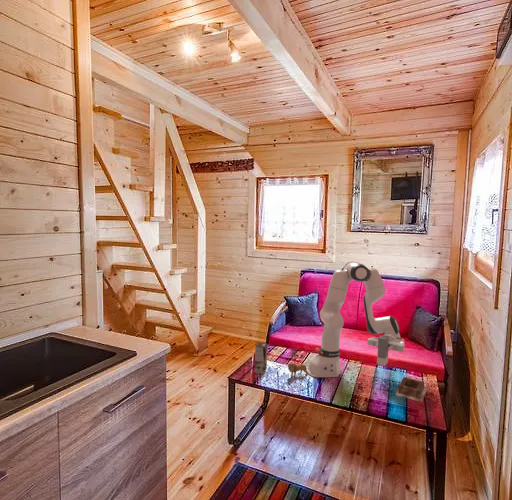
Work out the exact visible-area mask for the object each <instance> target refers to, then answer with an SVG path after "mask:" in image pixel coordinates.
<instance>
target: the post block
mask: <svg viewBox="0 0 512 500" xmlns="http://www.w3.org/2000/svg"><path fill="white" fill-rule="evenodd" d="M424 385H425V382H424V381H422V380H417V379H414V378H410V377H405V376H403V377H402V380H401V381H400V382H399V384H398V388H397V390H396V392H395V394H394V395H395V396H398V397H401V398H406V399H409V400H413V401H416V402H419V403H423V402H424V401H423V400H424V398H425V396H426V393H427V390H428V389H427V388H425V386H424Z"/></svg>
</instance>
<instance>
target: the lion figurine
mask: <svg viewBox="0 0 512 500" xmlns="http://www.w3.org/2000/svg"><path fill="white" fill-rule="evenodd" d="M306 367H307V366H306V364H304V363H300V364H296V363H294V362H289V363H288V364H287V369H288V371H289V372H290V373H291V374H290V377H293V378H297V372H299V373H298V374H299V375H301V374H302V373H303V372H304V373H305V374H304V375H305V376H308V373H307V370H306Z"/></svg>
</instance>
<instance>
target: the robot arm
mask: <svg viewBox="0 0 512 500" xmlns="http://www.w3.org/2000/svg"><path fill="white" fill-rule="evenodd" d="M352 281H355V282H361V283H363V284H364V287H365V290H366V291H365V292H366V293H365V295H364V296H363V306H364V314H365V320H366V329H367V332H368V333H370V334H372V335H374V336H372V337H368V339H367V345H368V346H371V347H375V348H376V349H378V338H379V337H377V336H376V337H375V335H379V334H383V335H384V336H389V343H388V346H387V349H386V350H388V351H394V352H399V353H404V352H405V339H404V338H401V334H400V325H399V322H398V320H397V319H396V318H395V317H394V316H392V315H388V316H382V317H381V316H380V317H374V312H373V304H374V303H376V302H378V301H379V300H381V299H382V298H383V297H384V296H385V294H386V287H385V284H384V281H383V279H382V276H381V274H380V273H379V270H377V269H376V268H373V267H372V268H371V267H370V268H368V267H367V266H366V265H364V264H362V263H360V262H356V261H349V262H347V263H346V264H345V265H344V266H343V267H342V268H341V269H338V270H335V271H334V272H333V274H332V277H331V279H330V281H329V287H328V290H327V293H326V294H327V295H326V298H325V300H324V303H323V305H322V308H321V310H320V311H319V317H320V320H321V322H322V323H323V330H322V331H323V332H322V334H321V341H320V342H321V344H320V345H321V346H320V348H318V347H316V348H315V351H316V352H317V354H316V355H315V356H314V357H312V358H311V359H309V362H308V366H306V370H307V375H309V376H311V377H313V378H338V377H339V375H340V374H341V373H342V369H341V363H340V356H341V349H340V344H341V343H340V341H341V334H342V331H343V330H342V329H343V327H344V324H345V320H344V318H343V316H342V314H341V313H340V310H341V308H342V306H343V304H344V303H345V302H346V297H347V292H348V288H349V284H350V282H352Z"/></svg>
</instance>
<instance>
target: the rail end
mask: <svg viewBox="0 0 512 500" xmlns="http://www.w3.org/2000/svg"><path fill="white" fill-rule="evenodd" d="M377 338H378V348H377V358H376V365H380V366H384V367H386V366H387V365H388V362H389V350H386V349H387V346H388V343H389V336H384V334H381V335H380V336H379V337H377Z"/></svg>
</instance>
